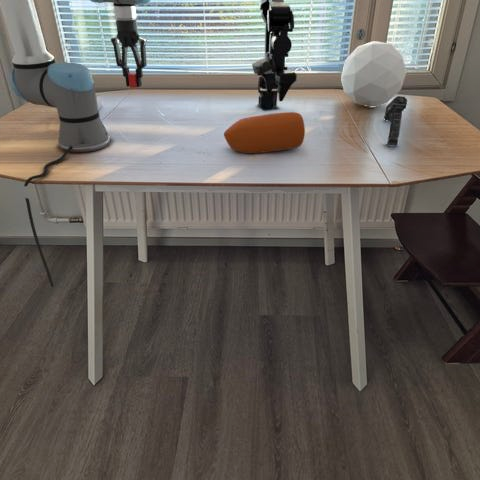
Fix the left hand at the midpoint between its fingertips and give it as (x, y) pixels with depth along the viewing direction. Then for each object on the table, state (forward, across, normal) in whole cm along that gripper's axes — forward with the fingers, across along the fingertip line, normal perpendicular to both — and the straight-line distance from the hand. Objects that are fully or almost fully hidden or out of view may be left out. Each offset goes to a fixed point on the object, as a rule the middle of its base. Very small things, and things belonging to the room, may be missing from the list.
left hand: (134, 85), depth 161 cm
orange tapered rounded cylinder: (+7, -56, +37) cm, 68 cm away
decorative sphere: (+7, -93, -17) cm, 95 cm away
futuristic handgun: (+7, -98, +16) cm, 99 cm away
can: (0, 0, 0) cm, 0 cm away
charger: (+7, +16, +10) cm, 20 cm away
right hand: (-2, -57, +12) cm, 58 cm away
